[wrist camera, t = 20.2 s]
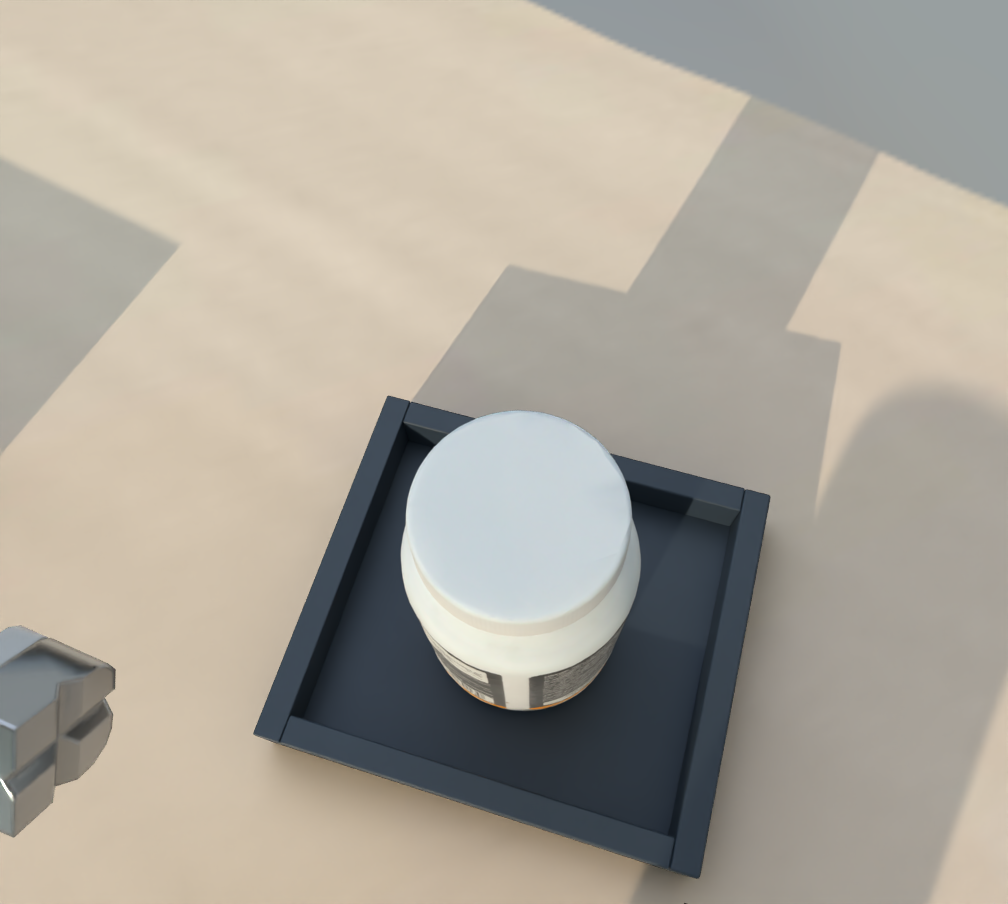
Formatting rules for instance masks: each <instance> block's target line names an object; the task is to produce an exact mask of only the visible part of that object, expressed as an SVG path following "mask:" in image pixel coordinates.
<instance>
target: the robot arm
mask: <svg viewBox="0 0 1008 904" xmlns="http://www.w3.org/2000/svg"><path fill="white" fill-rule="evenodd" d="M115 671H116V669H114V668H113V667H112V666H111V665H109V664H108V663H106V662H103V661H101V660H99V659H97V658H94V657H92V656H90V655H88V654H85V653H83V652H81V651H79V650H77V649H74V648H72V647H70V646H68V645H65V644H63V643H61V642H59V641H57V640H54V639H52V638H48V637H46V636H44V635H41V634H39V633H37V632H35V631H33V630H30V629H28V628H26V627H24V626H22V625H20V626H14V627H8V628H6V629H5V630H3V631H1V632H0V832H2V833H4V834H7V835H9V836H11V837H15V836H16V835H17V834H18V833H20V832H21V831H22V830H23V829H24V828H25V827H26V826H27V825H28V824H29V823H31V822H32V821H33V820H34V819H35V818H36V817H37V816H38V815H39V814H40V813H41V812H43V811H44V810H45V809H46V808H47V807H48V806H49V805H50V804H51V803H52V802H53V798H54V792H55V786H58V785H61V784H64V783H67V782H71V781H74V780H77V779H79V778H80V777H81V776H82V775H83V774H84V773H85V772H86V771H87V770H88V769H89V768H90V767H91V766H92V765H93V764H94V763H95V761H96V760H97V758H98V756H99V755H100V753H101V752H102V750H103V749H104V747H105V746H106V744H107V741H108V738H109V735H110V732H111V729H112V720H113V713H112V711H111V709H110V707H109V705H108V703H107V701H106V699H105V697H106V696H107V695H108V694H109V693H110V692H112V691H113V690H114V689H115ZM684 904H686V903H684Z"/></svg>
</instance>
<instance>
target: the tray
mask: <svg viewBox="0 0 1008 904" xmlns="http://www.w3.org/2000/svg"><path fill="white" fill-rule="evenodd" d="M474 419H475V418H472V417H468V416H464V415H460V414H456V413H452V412H449V411H445V410H441V409H437V408H433V407H429V406H425V405H422V404H418V403H414V402H411V403H410V401H407V400H403V399H400V398H396V397H392V396H387V398H386V401H385V403H384V406H383V408H382V411H381V413H380V416H379V418H378V421H377V423H376V426H375V428H374V431H373V433H372V436H371V439H370V441H369V444H368V446H367V449H366V451H365V454H364V456H363V459H362V461H361V464H360V466H359V469H358V471H357V474H356V476H355V479H354V481H353V484H352V486H351V489H350V491H349V494H348V496H347V499H346V501H345V504H344V506H343V509H342V511H341V514H340V516H339V519H338V521H337V524H336V527H335V529H334V532H333V534H332V537H331V539H330V542H329V544H328V547H327V549H326V552H325V554H324V557H323V559H322V562H321V564H320V567H319V569H318V572H317V574H316V577H315V579H314V582H313V584H312V587H311V589H310V592H309V594H308V597H307V599H306V602H305V604H304V607H303V609H302V612H301V614H300V617H299V620H298V622H297V625H296V627H295V630H294V632H293V635H292V637H291V640H290V642H289V645H288V647H287V650H286V652H285V655H284V657H283V660H282V662H281V665H280V667H279V670H278V672H277V675H276V677H275V680H274V682H273V685H272V687H271V690H270V692H269V695H268V697H267V700H266V702H265V705H264V708H263V710H262V713H261V715H260V718H259V720H258V723H257V725H256V728H255V730H254V733H253V734H254V735H255V736H258V737H261V738H263V739H266V740H269V741H272V742H274V743H278V744H281V745H284V746H287V747H290V748H293V749H296V750H299V751H302V752H305V753H308V754H311V755H314V756H318V757H321V758H324V759H327V760H330V761H333V762H336V763H339V764H342V765H345V766H348V767H351V768H355V769H358V770H361V771H364V772H367V773H370V774H373V775H376V776H379V777H382V778H385V779H388V780H391V781H395V782H398V783H401V784H404V785H407V786H410V787H413V788H416V789H419V790H422V791H425V792H428V793H431V794H435V795H438V796H441V797H444V798H447V799H450V800H453V801H456V802H459V803H462V804H465V805H468V806H472V807H475V808H478V809H481V810H484V811H487V812H490V813H493V814H496V815H499V816H502V817H505V818H508V819H512V820H515V821H518V822H521V823H524V824H527V825H530V826H533V827H536V828H539V829H542V830H545V831H549V832H552V833H555V834H558V835H561V836H564V837H567V838H570V839H573V840H576V841H579V842H582V843H585V844H589V845H592V846H595V847H598V848H601V849H604V850H607V851H610V852H613V853H616V854H619V855H622V856H626V857H629V858H632V859H635V860H638V861H641V862H644V863H647V864H650V865H653V866H656V867H659V868H662V869H666V870H669V871H672V872H675V873H678V874H681V875H684V876H688V877H692V878H696V879H697V878H699V877H700V874H701V868H702V863H703V857H704V852H705V847H706V841H707V836H708V831H709V825H710V820H711V814H712V809H713V804H714V798H715V793H716V788H717V782H718V777H719V771H720V766H721V761H722V755H723V750H724V744H725V739H726V734H727V728H728V723H729V718H730V712H731V707H732V701H733V696H734V691H735V685H736V680H737V675H738V669H739V664H740V658H741V653H742V648H743V642H744V637H745V632H746V626H747V621H748V615H749V610H750V605H751V599H752V594H753V588H754V583H755V578H756V572H757V567H758V562H759V556H760V551H761V545H762V540H763V535H764V529H765V524H766V519H767V513H768V508H769V502H770V496H769V495H767V494H763V493H759V492H755V491H751V490H744V488H740V487H736V486H733V485H729V484H725V483H721V482H717V481H713V480H710V479H706V478H702V477H698V476H694V475H690V474H687V473H683V472H679V471H675V470H671V469H667V468H664V467H660V466H656V465H652V464H648V463H644V462H641V461H637V460H633V459H629V458H625V457H621V456H617V455H614V454H610V455H611V456H612V457H613V459H614V460H615V462H616V463H617V465H618V467H619V469H620V470H621V472H622V474H623V477H624V479H625V481H626V484H627V488H628V491H629V495H630V500H631V508H632V519H633V522H634V525H635V528H636V531H637V535H638V539H639V547H640V554H641V571H640V579H639V584H638V588H637V592H636V596H635V599H634V602H633V605H632V608H631V610H630V612H629V615H628V617H627V619H626V621H625V623H624V625H623V628H622V630H621V633H620V634H619V637H618V639H617V641H616V643H615V646H614V648H613V650H612V653H611V654H610V656H609V658H608V660H607V662H606V663H605V665H604V666H603V668H602V669H601V671H600V672H599V674H598V675H597V676H596V677H595V679H594V680H593V681H592V682H591V683H590V684H589V685H588V686H587V687H586V688H585V689H584V690H583V691H581V692H580V693H579V694H577V695H576V696H574V697H573V698H571V699H569V700H567V701H565V702H563V703H561V704H558V705H556V706H553V707H549V708H546V709H542V710H534V711H514V710H507V709H502V708H499V707H496V706H493V705H490V704H487V703H485V702H483V701H481V700H479V699H477V698H476V697H474V696H472V695H471V694H470V693H468V692H467V691H466V690H464V689H463V688H462V687H461V686H460V685H459V684H458V683H457V682H456V681H455V680H454V679H453V678H452V677H451V676H450V675H449V674H448V672H447V671H446V669H445V668H444V666H443V665H442V663H441V662H440V660H439V659H438V657H437V655H436V653H435V650H434V649H433V647H432V645H431V643H430V641H429V639H428V637H427V635H426V634H425V632H424V629H423V627H422V625H421V623H420V621H419V619H418V618H417V616H416V614H415V612H414V610H413V608H412V606H411V604H410V602H409V599H408V597H407V594H406V591H405V586H404V581H403V576H402V566H401V545H402V539H403V533H404V529H405V526H406V508H407V500H408V495H409V491H410V488H411V485H412V482H413V479H414V477H415V475H416V473H417V471H418V469H419V467H420V466H421V464H422V462H423V461H424V459H425V458H426V457H427V455H428V454H429V452H430V451H431V450H432V449H433V448H434V447H435V446H436V445H437V444H438V443H439V442H440V441H441V440H442V439H443V438H444V437H446V436H447V435H448V434H450V433H451V432H452V431H454V430H455V429H457V428H458V427H460V426H462V425H464V424H466V423H468V422H470V421H472V420H474Z"/></svg>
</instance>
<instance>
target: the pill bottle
mask: <svg viewBox="0 0 1008 904" xmlns="http://www.w3.org/2000/svg"><path fill="white" fill-rule="evenodd" d="M401 566H402V576H403V581H404V586H405V591H406V594H407V597H408V599H409V602H410V604H411V606H412V608H413V610H414V612H415V614H416V616H417V618H418V619H419V621H420V623H421V625H422V627H423V629H424V632H425V634H426V635H427V637H428V639H429V641H430V643H431V645H432V647H433V649H434V650H435V653H436V655H437V657H438V659H439V660H440V662H441V663H442V665H443V666H444V668H445V669H446V671H447V672H448V674H449V675H450V676H451V677H452V678H453V679H454V680H455V681H456V682H457V683H458V684H459V685H460V686H461V687H462V688H463V689H464V690H466V691H467V692H468V693H470V694H471V695H472V696H474V697H476V698H477V699H479V700H481V701H483V702H485V703H487V704H490V705H493V706H496V707H499V708H502V709H507V710H514V711H534V710H542V709H546V708H549V707H553V706H556V705H558V704H561V703H563V702H565V701H567V700H569V699H571V698H573V697H574V696H576V695H577V694H579V693H580V692H581V691H583V690H584V689H585V688H586V687H587V686H588V685H589V684H590V683H591V682H592V681H593V680H594V679H595V677H596V676H597V675H598V674H599V672H600V671H601V669H602V668H603V666H604V665H605V663H606V662H607V660H608V658H609V656H610V654H611V653H612V650H613V648H614V646H615V643H616V641H617V639H618V637H619V634H620V633H621V630H622V628H623V625H624V623H625V621H626V619H627V617H628V615H629V612H630V610H631V608H632V605H633V602H634V599H635V596H636V592H637V588H638V584H639V579H640V571H641V554H640V547H639V539H638V535H637V531H636V528H635V525H634V522H633V519H632V508H631V500H630V495H629V491H628V488H627V484H626V481H625V479H624V477H623V474H622V472H621V470H620V469H619V467H618V465H617V463H616V462H615V460H614V459H613V457H612V456H611V455H610V453H609V452H608V451H607V450H606V448H605V447H604V446H603V445H602V444H601V443H600V442H599V441H598V440H597V439H596V438H595V437H593V436H592V435H591V434H589V433H588V432H587V431H585V430H584V429H582V428H580V427H579V426H577V425H575V424H573V423H571V422H569V421H567V420H565V419H562V418H559V417H556V416H553V415H550V414H545V413H540V412H534V411H519V410H516V411H504V412H498V413H493V414H489V415H486V416H482V417H479V418H477V419H474V420H472V421H470V422H468V423H466V424H464V425H462V426H460V427H458V428H457V429H455V430H454V431H452V432H451V433H450V434H448V435H447V436H446V437H444V438H443V439H442V440H441V441H440V442H439V443H438V444H437V445H436V446H435V447H434V448H433V449H432V450H431V451H430V452H429V454H428V455H427V457H426V458H425V459H424V461H423V462H422V464H421V466H420V467H419V469H418V471H417V473H416V475H415V477H414V479H413V482H412V485H411V488H410V491H409V495H408V500H407V508H406V526H405V529H404V533H403V539H402V545H401Z"/></svg>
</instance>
